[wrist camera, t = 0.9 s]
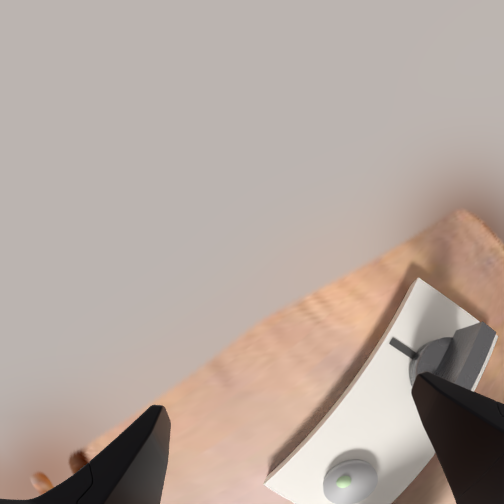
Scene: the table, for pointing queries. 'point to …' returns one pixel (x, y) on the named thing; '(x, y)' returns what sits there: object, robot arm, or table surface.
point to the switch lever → (455, 355)
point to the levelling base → (374, 416)
